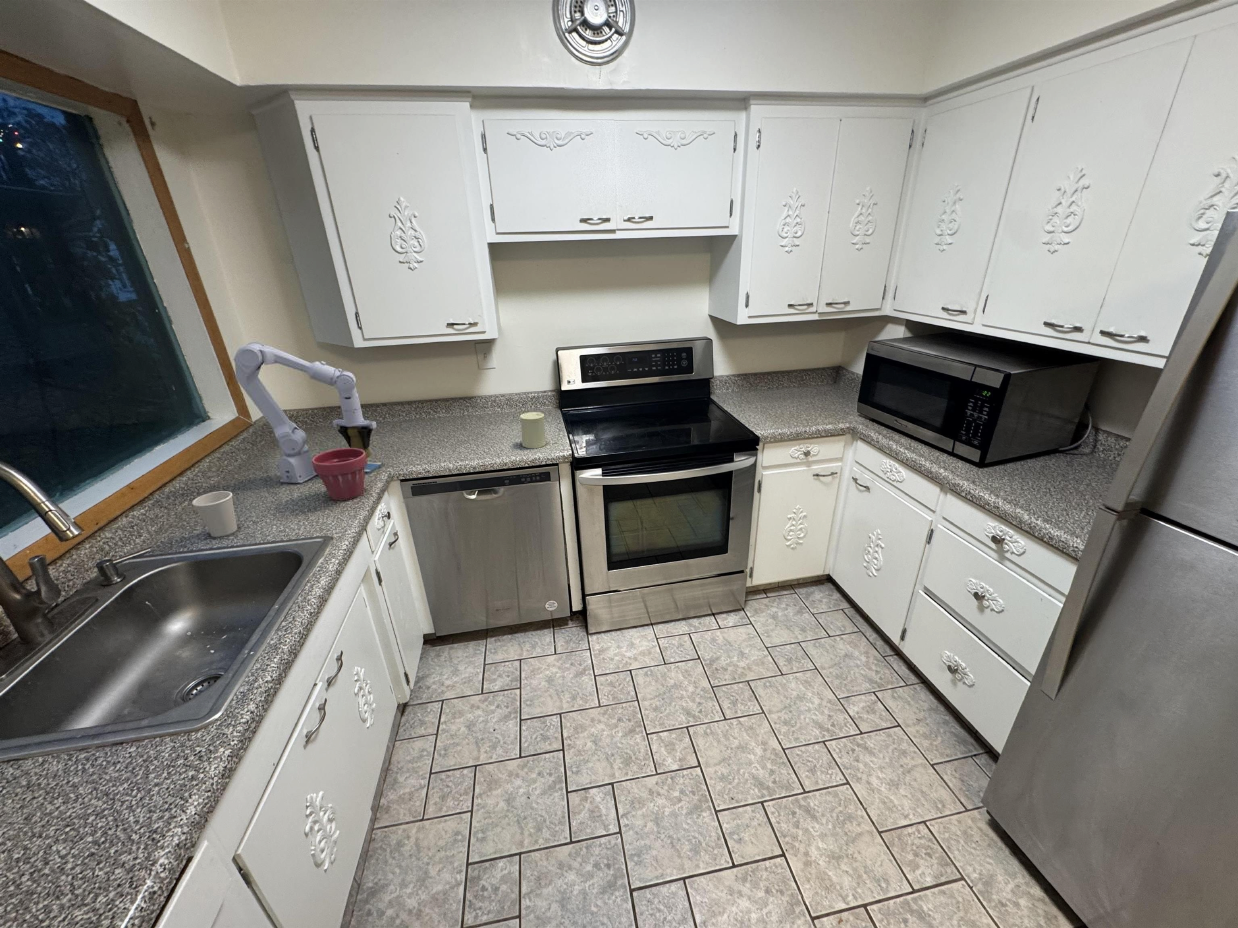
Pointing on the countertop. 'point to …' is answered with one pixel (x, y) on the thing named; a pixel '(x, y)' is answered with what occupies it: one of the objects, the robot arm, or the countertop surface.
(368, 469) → the towel
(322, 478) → the flower pot
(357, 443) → the cork
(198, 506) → the dixie cup
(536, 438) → the can
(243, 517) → the countertop surface
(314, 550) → the countertop surface
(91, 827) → the countertop surface
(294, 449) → the robot arm
